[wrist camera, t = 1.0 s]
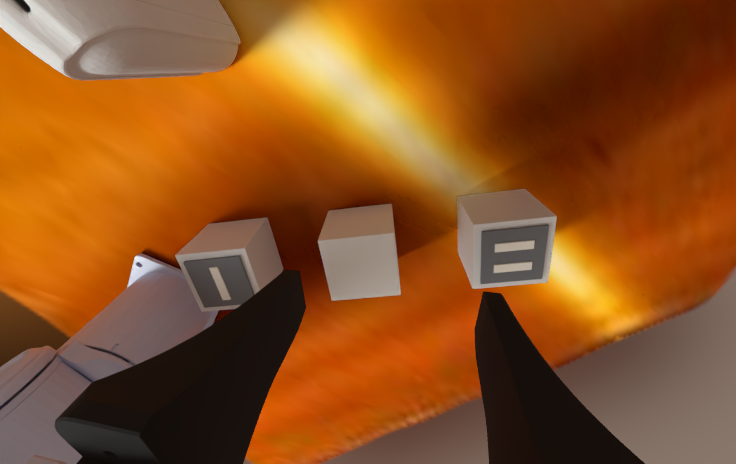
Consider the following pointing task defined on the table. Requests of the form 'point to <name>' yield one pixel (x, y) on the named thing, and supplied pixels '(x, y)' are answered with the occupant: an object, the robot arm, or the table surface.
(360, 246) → the plain block
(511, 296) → the table surface
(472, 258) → the marked block 2
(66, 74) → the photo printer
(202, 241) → the marked block 1
